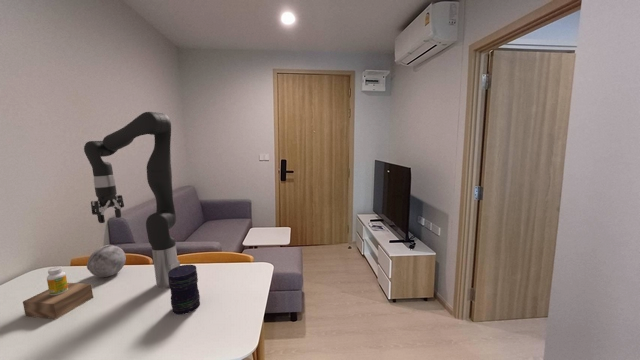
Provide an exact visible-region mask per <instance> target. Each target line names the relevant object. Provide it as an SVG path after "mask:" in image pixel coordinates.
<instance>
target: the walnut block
mask: <svg viewBox="0 0 640 360" xmlns="http://www.w3.org/2000/svg"><path fill="white" fill-rule="evenodd" d="M67 284H68V290H67V291H66V292H64V293H62V294H59V295H50V293H49V288H48V289H46V290H44V291H42V292H39V293H38V294H35V295H33V296H31V297H29V298H27V299H25V300H23V301H22V305H23V310H24V315H25V317H26V318H27V317H30V318H42V319H50V320H51V319H53V320H54V319H55V320H57V319H60V318H62V317H63V316H65V315H66V314H68V313H70V312H71V311H73V310H75V309H76V308H78V307H80V306H81V305H84V304H85V303H86V301H87V302H88V301H90V300H91V298H92V299H94V294H93V293H94V292H93V287H92V283H78V282H77V283H76V282H67Z"/></svg>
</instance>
